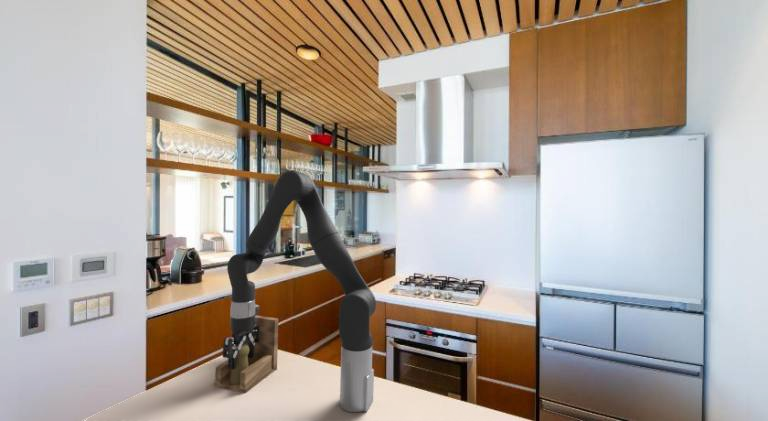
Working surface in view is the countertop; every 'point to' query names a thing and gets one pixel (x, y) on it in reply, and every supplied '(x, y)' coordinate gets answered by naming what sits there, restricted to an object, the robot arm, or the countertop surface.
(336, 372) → the countertop surface
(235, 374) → the olive rounded bulb piece
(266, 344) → the wooden stand
